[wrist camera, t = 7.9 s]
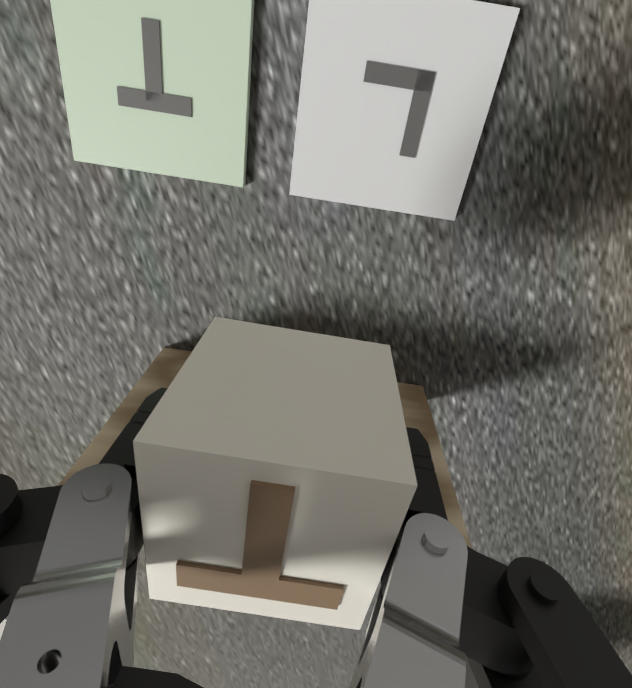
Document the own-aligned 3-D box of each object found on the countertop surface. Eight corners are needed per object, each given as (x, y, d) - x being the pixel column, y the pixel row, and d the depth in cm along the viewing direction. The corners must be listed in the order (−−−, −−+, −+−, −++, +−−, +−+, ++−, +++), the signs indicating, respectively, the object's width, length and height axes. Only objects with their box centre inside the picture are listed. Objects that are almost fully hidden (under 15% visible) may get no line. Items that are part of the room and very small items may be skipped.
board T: (256, -33, 17) (253, -39, 17) (245, 185, 22) (242, 187, 21) (48, -69, 17) (37, -76, 17) (80, 159, 22) (72, 160, 21)
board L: (514, 11, 18) (520, 7, 17) (451, 218, 22) (454, 221, 21) (313, -23, 17) (311, -29, 17) (290, 192, 22) (289, 194, 21)
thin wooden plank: (422, 385, 28) (471, 548, 17) (416, 402, 28) (460, 568, 18) (164, 347, 27) (54, 489, 17) (165, 365, 28) (61, 512, 18)
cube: (389, 345, 11) (418, 489, 7) (355, 468, 14) (359, 634, 9) (215, 316, 11) (129, 445, 7) (211, 446, 14) (147, 602, 9)
